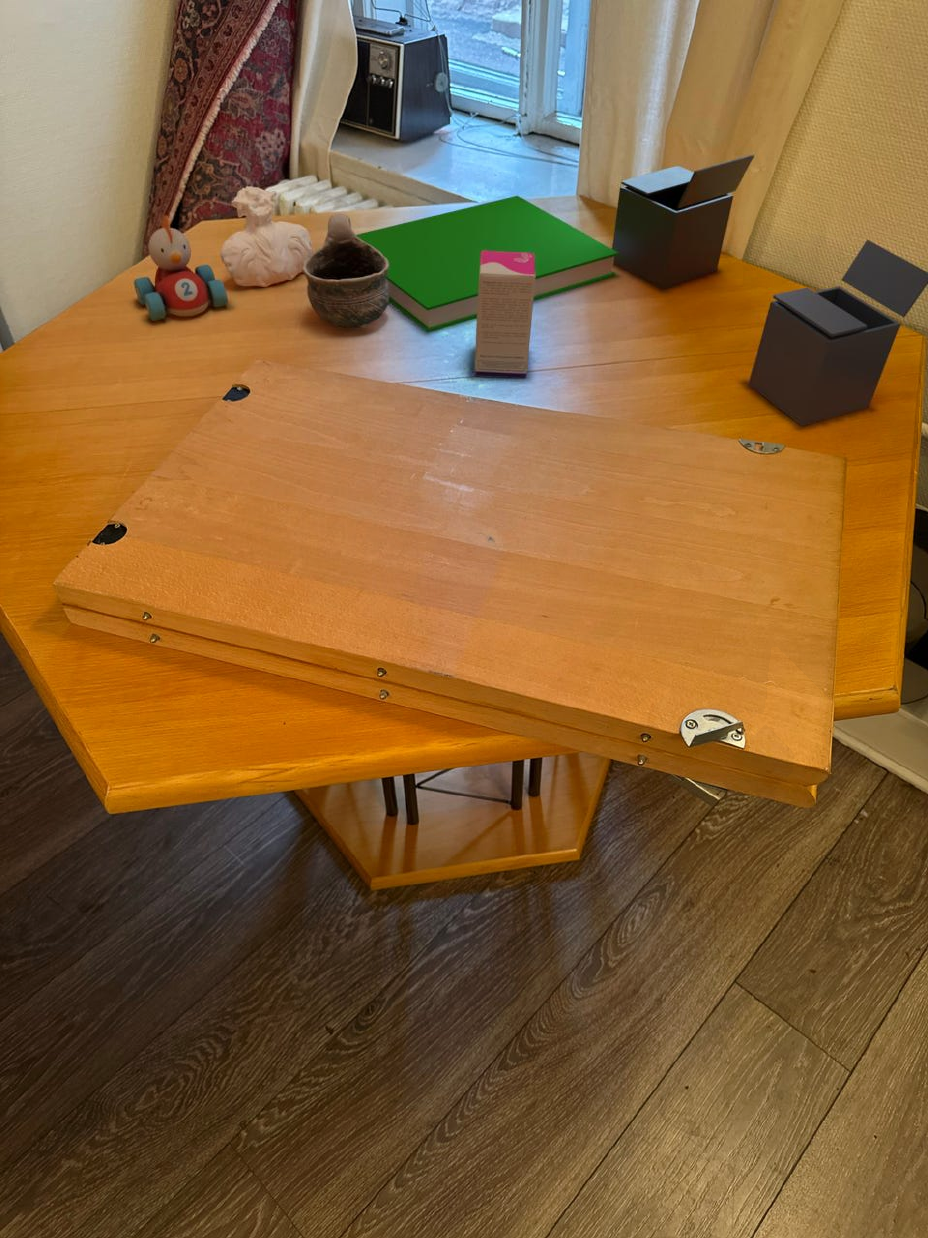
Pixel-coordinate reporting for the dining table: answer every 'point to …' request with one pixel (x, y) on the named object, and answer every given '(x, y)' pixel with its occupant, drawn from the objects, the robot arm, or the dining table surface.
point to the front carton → (821, 353)
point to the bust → (264, 243)
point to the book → (450, 257)
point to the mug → (346, 277)
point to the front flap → (886, 278)
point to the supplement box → (504, 313)
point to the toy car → (177, 278)
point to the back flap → (715, 181)
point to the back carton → (668, 229)
